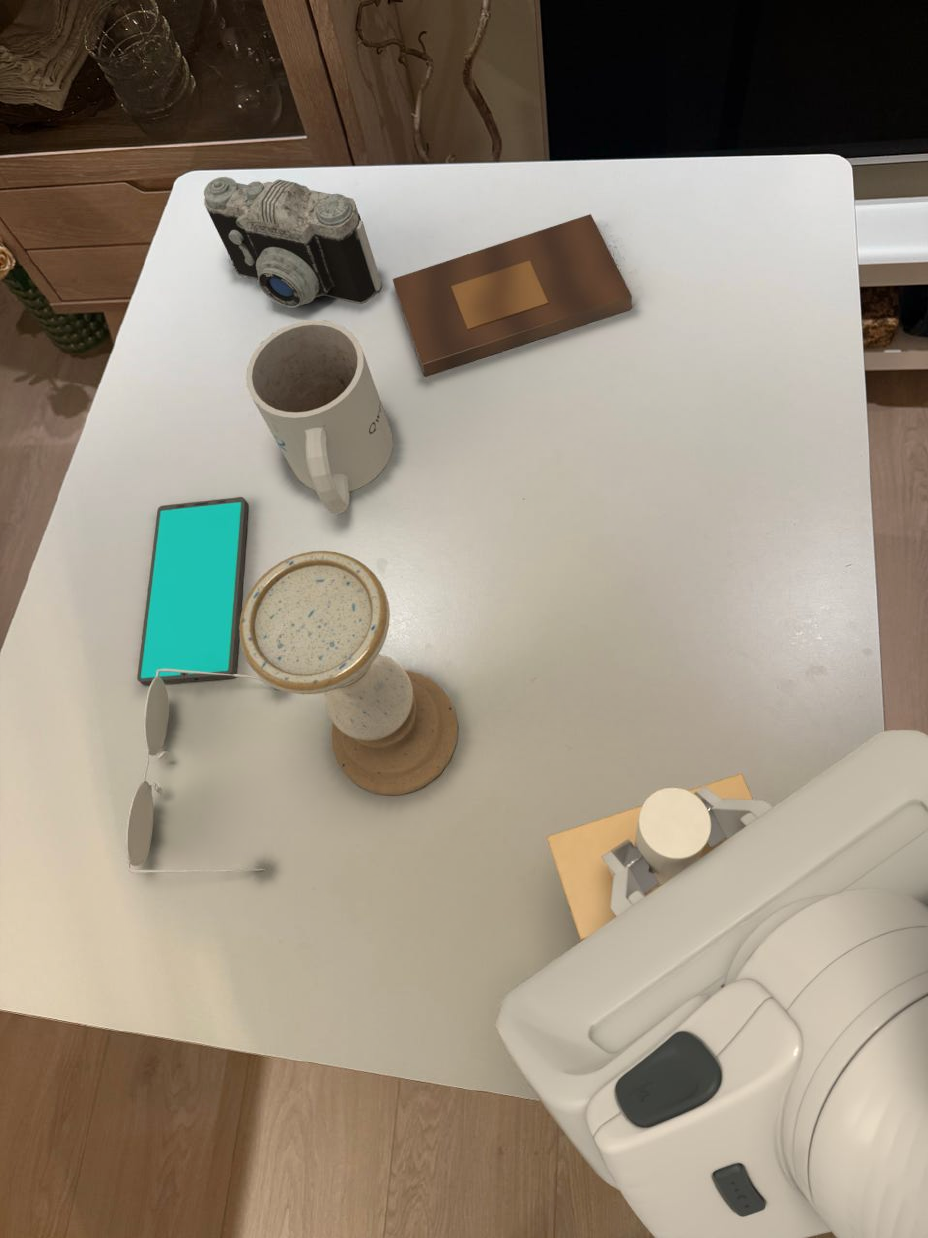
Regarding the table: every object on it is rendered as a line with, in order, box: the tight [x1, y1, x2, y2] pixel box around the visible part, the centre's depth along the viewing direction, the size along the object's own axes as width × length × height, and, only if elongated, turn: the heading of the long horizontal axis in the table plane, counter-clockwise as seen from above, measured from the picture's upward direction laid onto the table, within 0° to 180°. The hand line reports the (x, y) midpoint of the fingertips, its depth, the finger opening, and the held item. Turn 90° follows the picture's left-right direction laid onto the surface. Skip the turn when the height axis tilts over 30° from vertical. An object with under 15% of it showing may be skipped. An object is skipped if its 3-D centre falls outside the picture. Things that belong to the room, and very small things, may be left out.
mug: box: [245, 319, 394, 514], centre depth 68 cm, size 12×9×10 cm
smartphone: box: [136, 496, 249, 686], centre depth 69 cm, size 7×1×15 cm
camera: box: [203, 176, 382, 309], centre depth 76 cm, size 15×7×10 cm, turn 67°
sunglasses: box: [125, 669, 280, 874], centre depth 61 cm, size 14×8×5 cm, turn 0°
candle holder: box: [239, 550, 459, 796], centre depth 53 cm, size 9×9×20 cm
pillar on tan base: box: [546, 773, 754, 942], centre depth 41 cm, size 10×5×12 cm, turn 106°
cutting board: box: [392, 213, 633, 377], centre depth 76 cm, size 18×10×2 cm, turn 106°
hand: (657, 832), depth 40 cm, fingers closed on pillar on tan base, 3 cm apart
